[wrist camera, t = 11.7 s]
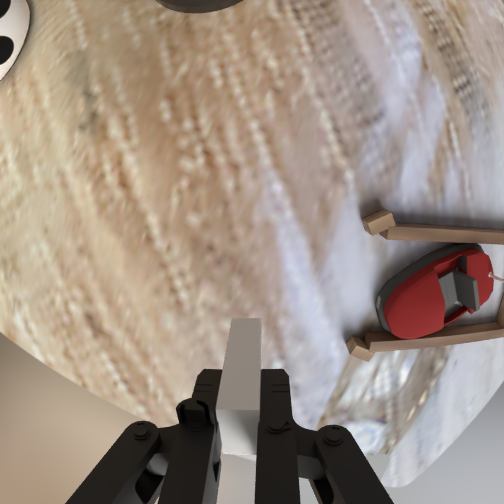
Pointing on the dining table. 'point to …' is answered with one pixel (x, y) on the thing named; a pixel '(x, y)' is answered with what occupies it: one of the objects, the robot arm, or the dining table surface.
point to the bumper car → (436, 290)
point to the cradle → (446, 335)
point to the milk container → (12, 32)
